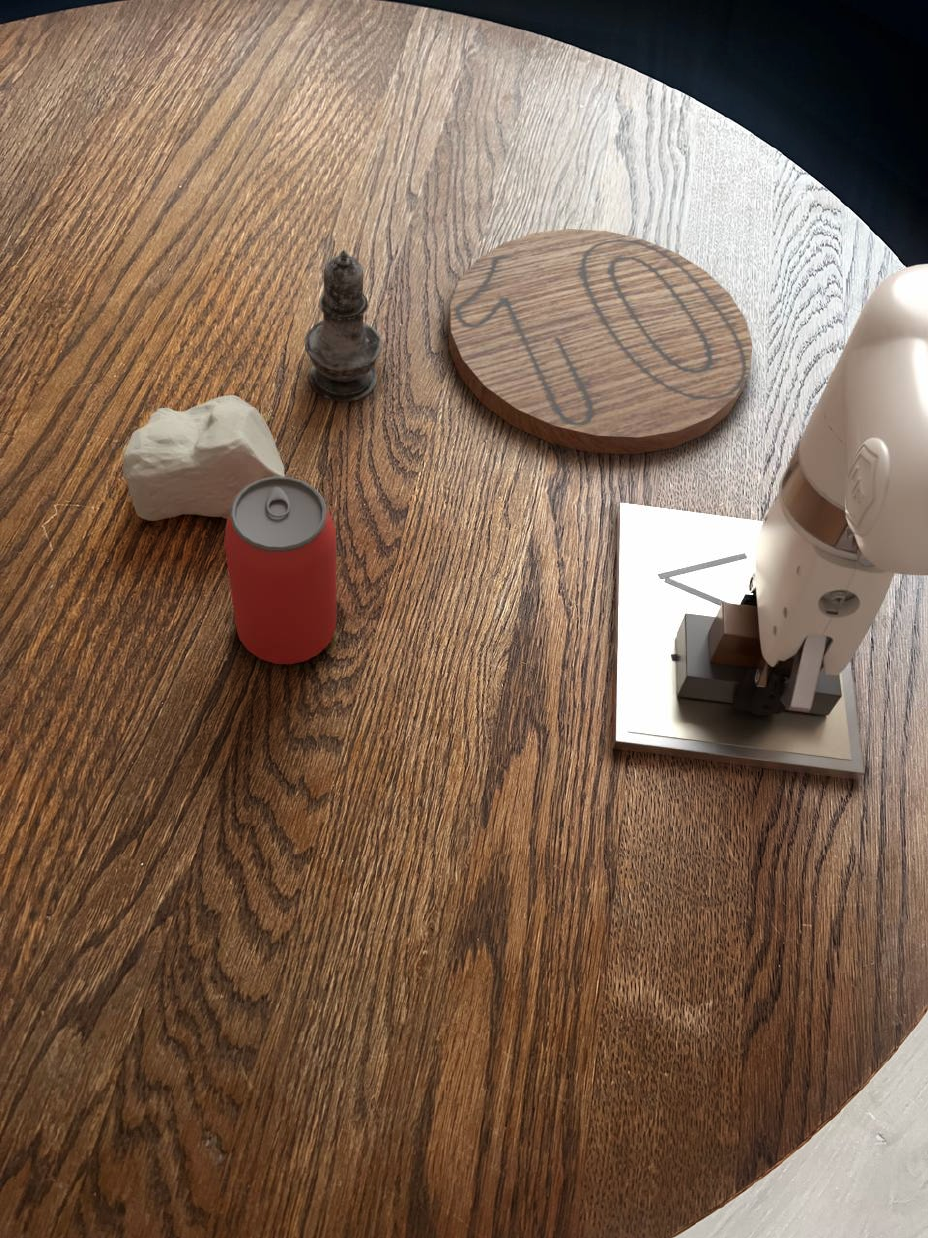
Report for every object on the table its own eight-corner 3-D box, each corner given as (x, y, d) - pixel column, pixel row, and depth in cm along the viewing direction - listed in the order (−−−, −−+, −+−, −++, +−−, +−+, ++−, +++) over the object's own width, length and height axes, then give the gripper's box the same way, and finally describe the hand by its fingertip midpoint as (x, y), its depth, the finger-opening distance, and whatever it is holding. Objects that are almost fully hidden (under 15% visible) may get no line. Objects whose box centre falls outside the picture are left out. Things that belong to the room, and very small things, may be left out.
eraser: (821, 652, 76) (853, 602, 72) (828, 716, 74) (862, 668, 69) (675, 633, 76) (698, 582, 71) (676, 696, 73) (700, 647, 69)
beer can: (331, 583, 77) (329, 464, 68) (342, 664, 74) (342, 551, 64) (233, 591, 76) (217, 472, 66) (239, 674, 73) (224, 560, 63)
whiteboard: (858, 780, 72) (865, 772, 71) (612, 748, 72) (615, 740, 71) (830, 539, 84) (835, 529, 83) (617, 511, 84) (620, 501, 83)
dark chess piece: (290, 380, 88) (283, 252, 78) (337, 341, 91) (336, 213, 81) (349, 415, 87) (351, 289, 77) (395, 374, 90) (402, 248, 80)
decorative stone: (263, 396, 85) (283, 372, 75) (277, 518, 85) (299, 509, 76) (112, 406, 81) (113, 382, 72) (128, 533, 82) (131, 525, 72)
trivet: (529, 489, 84) (532, 472, 82) (400, 279, 96) (401, 261, 95) (804, 409, 91) (812, 392, 90) (652, 224, 104) (657, 206, 102)
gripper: (951, 629, 55) (820, 794, 70) (905, 385, 65) (799, 575, 79) (799, 609, 55) (701, 779, 70) (776, 368, 64) (694, 561, 79)
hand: (754, 668), depth 74 cm, fingers closed on eraser, 5 cm apart
